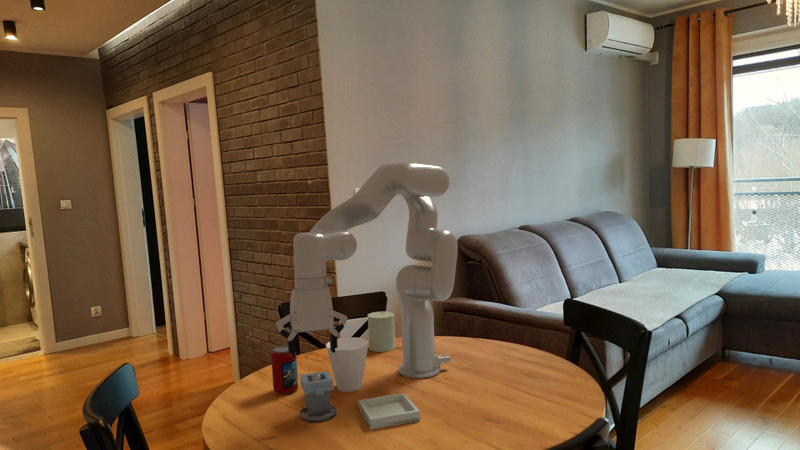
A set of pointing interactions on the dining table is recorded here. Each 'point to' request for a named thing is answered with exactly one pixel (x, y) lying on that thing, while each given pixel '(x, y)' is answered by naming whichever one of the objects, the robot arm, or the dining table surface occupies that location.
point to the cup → (348, 362)
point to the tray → (388, 411)
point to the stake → (318, 406)
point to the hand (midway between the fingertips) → (313, 353)
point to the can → (381, 331)
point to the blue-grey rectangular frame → (317, 383)
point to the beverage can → (284, 371)
